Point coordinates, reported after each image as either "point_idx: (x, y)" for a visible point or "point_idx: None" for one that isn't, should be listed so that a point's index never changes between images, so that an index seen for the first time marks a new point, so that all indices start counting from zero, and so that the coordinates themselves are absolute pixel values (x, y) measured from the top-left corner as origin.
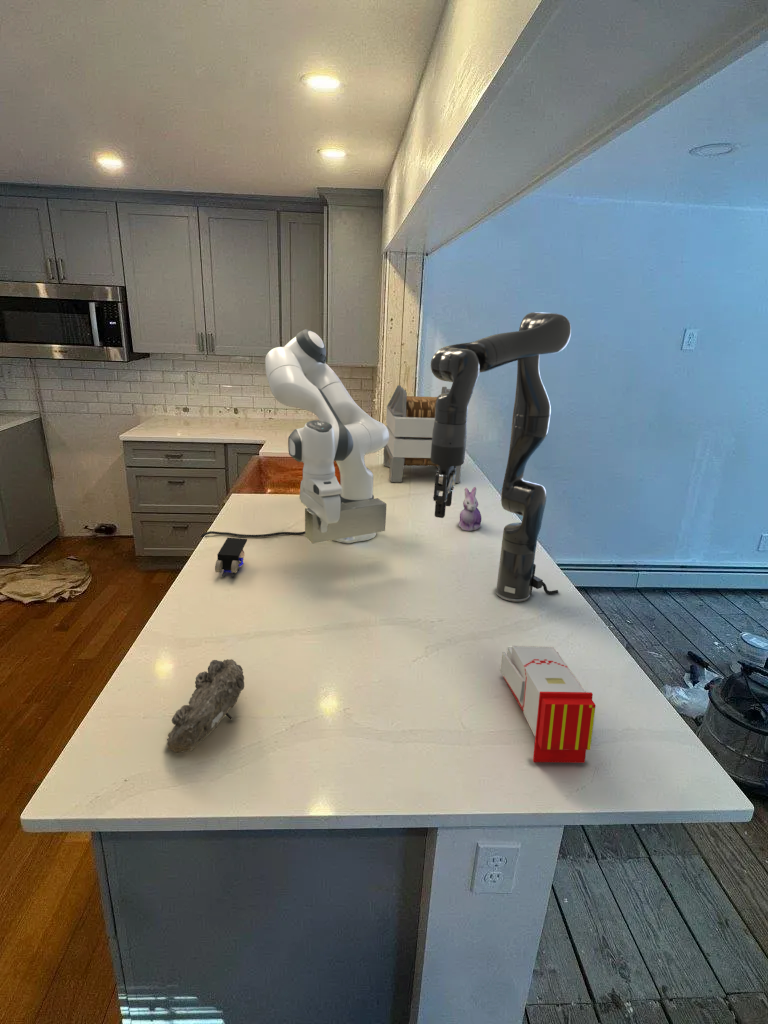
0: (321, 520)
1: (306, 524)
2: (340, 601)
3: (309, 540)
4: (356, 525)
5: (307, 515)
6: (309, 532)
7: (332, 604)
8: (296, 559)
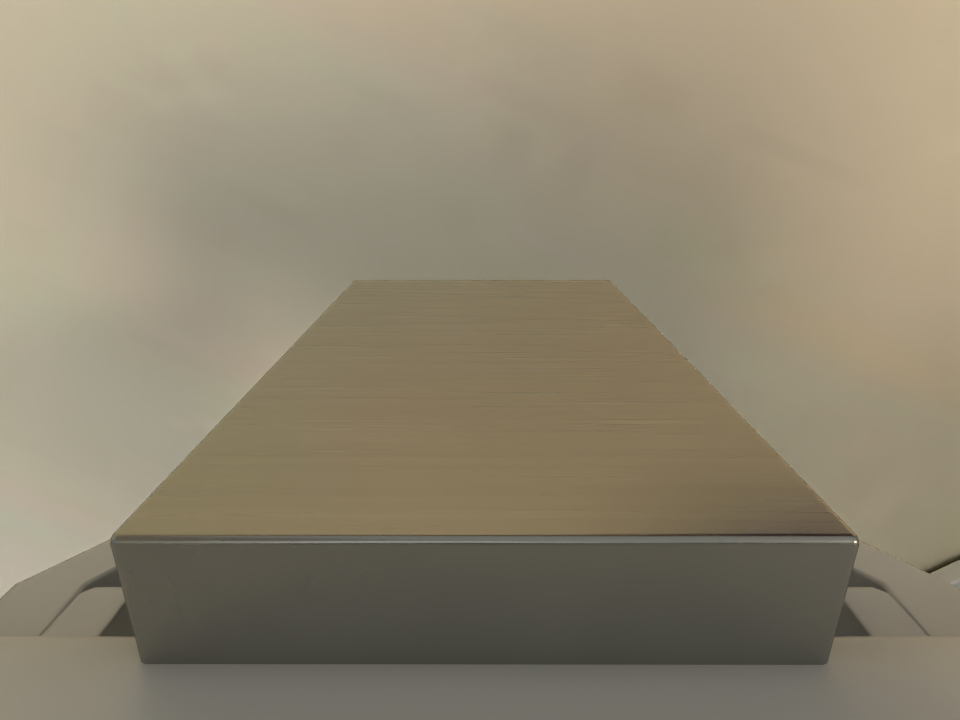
0: (56, 609)
1: (595, 342)
2: (84, 273)
3: (457, 281)
4: None
5: (569, 440)
6: (449, 312)
7: (54, 209)
8: (803, 250)
